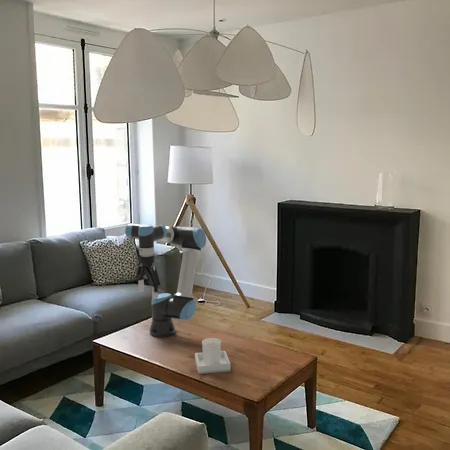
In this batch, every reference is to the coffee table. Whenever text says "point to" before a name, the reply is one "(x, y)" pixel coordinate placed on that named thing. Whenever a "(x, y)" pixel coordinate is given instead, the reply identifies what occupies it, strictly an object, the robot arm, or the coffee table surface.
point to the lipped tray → (213, 368)
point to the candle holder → (211, 351)
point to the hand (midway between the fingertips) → (148, 295)
